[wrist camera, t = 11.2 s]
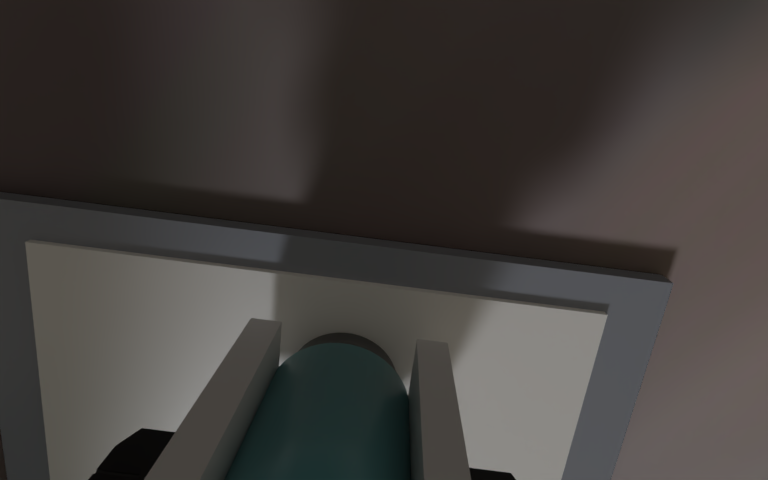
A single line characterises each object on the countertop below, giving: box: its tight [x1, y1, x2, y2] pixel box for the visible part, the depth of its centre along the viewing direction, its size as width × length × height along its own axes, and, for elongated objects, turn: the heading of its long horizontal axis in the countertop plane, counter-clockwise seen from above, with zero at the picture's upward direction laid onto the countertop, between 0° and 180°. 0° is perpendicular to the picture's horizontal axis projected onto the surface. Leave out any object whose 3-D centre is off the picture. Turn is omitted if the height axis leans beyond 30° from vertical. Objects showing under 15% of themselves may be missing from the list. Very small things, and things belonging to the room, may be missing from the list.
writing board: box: [0, 192, 673, 480], centre depth 15 cm, size 18×13×1 cm
